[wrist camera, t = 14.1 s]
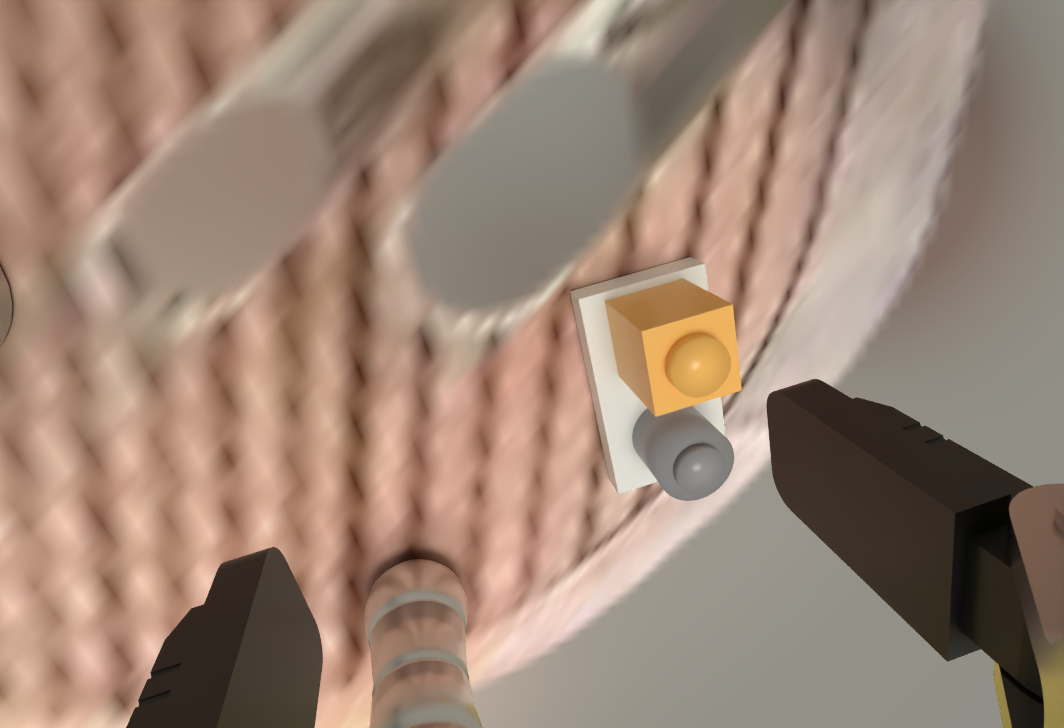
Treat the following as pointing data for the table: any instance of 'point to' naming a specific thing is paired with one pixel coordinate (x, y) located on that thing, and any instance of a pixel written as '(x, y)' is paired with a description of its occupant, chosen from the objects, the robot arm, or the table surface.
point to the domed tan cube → (674, 345)
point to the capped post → (683, 452)
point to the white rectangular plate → (607, 389)
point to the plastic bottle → (419, 648)
